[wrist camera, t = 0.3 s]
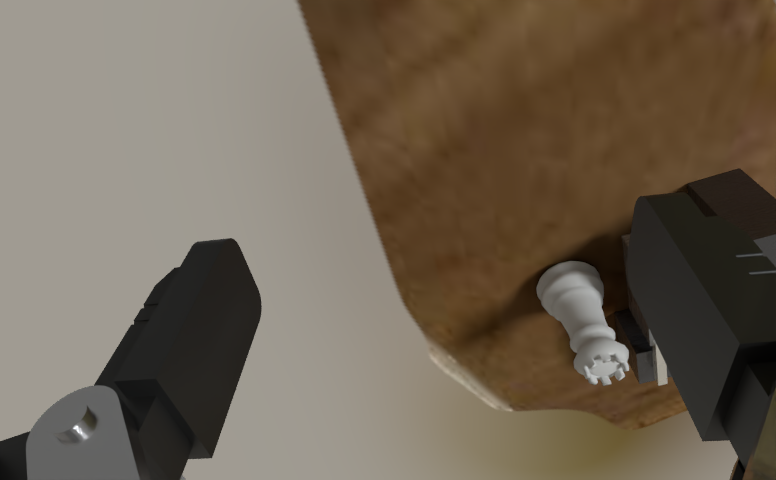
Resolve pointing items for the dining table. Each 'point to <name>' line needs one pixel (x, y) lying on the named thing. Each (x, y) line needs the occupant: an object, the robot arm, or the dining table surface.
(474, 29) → the dining table surface
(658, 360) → the gauge plate
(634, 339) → the gauge frame
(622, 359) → the rook chess piece
